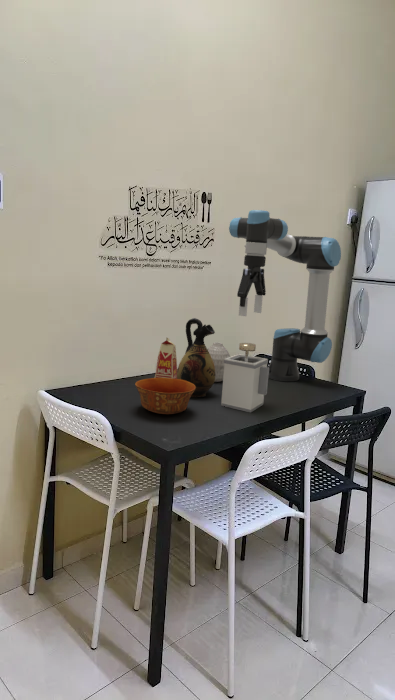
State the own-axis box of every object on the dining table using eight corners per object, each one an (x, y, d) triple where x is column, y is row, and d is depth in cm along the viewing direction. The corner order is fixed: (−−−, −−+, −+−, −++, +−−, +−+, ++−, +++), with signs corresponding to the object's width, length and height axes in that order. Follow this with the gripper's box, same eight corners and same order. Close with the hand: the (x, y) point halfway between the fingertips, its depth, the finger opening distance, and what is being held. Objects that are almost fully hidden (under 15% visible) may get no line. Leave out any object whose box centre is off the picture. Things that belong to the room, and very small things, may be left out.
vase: (213, 385, 221) (216, 346, 217) (195, 378, 230) (197, 341, 227) (235, 381, 229) (238, 344, 225) (216, 374, 238) (219, 339, 235)
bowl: (150, 398, 196) (151, 373, 194) (202, 408, 189) (204, 382, 187) (123, 414, 177) (124, 386, 175) (180, 425, 170) (181, 396, 168)
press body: (234, 398, 204) (238, 353, 200) (270, 406, 197) (275, 360, 193) (220, 405, 193) (224, 358, 189) (258, 414, 186) (262, 365, 182)
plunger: (236, 394, 201) (241, 340, 197) (259, 399, 197) (264, 344, 193) (226, 400, 193) (230, 344, 189) (249, 405, 189) (254, 348, 184)
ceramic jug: (221, 393, 209) (226, 320, 203) (201, 402, 196) (207, 324, 190) (185, 385, 217) (189, 314, 211) (164, 393, 204) (168, 318, 198)
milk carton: (174, 386, 215) (176, 339, 211) (152, 384, 216) (154, 337, 212) (178, 381, 223) (181, 335, 219) (157, 378, 225) (159, 333, 221)
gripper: (259, 254, 197) (254, 310, 201) (230, 253, 175) (225, 315, 179) (277, 256, 193) (272, 312, 197) (251, 255, 172) (245, 318, 176)
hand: (250, 314), depth 188 cm, fingers open, 13 cm apart
